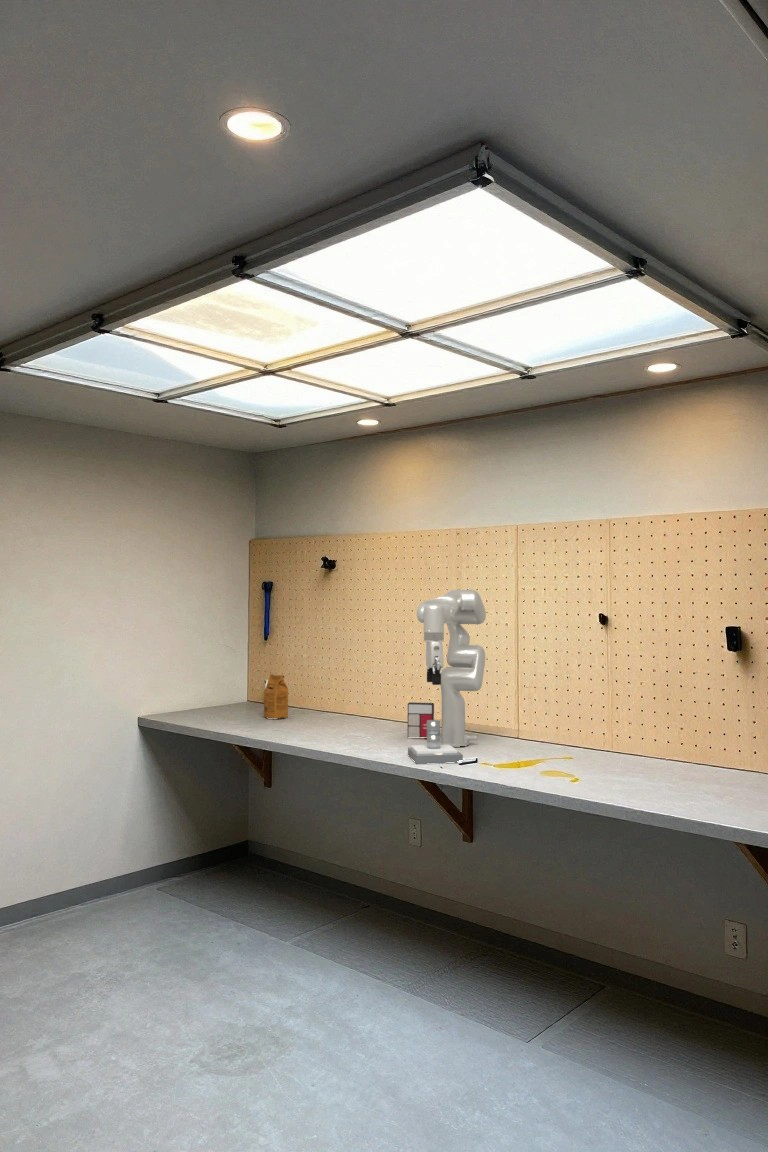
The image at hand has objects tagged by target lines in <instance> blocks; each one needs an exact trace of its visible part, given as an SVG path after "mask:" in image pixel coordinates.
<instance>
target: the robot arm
mask: <svg viewBox="0 0 768 1152" xmlns="http://www.w3.org/2000/svg"><path fill="white" fill-rule="evenodd" d="M486 613H487V612H486V608H485V606H484V602H483V600H482V598H481V595H480V594H479V593H478V591H476V589H475V590H474V589H452V590H450V591H448V592H446V593H445V594H443V596H439V597H434V598H430V599H426V600H423V601H422V602H421V603H420V604H419V605H418V607H417V608H416V618H417V620H418V622H419V623H420V624H421V623H422V624H423V642H425V643H426V644H425V665H426V666H427V667H426V682H427V683H431V685H432V686H440V692H441V693H440V694H441V739H440V745H451V746H452V747H453V748H461V747H460V746H465V747H468V746H469V745H470V741H477V740H478V735H469V734H468V733H466V701H465V698H464V696H463V695H462V693H460V692H462V691H463V692H477V691H480V690H481V688H482V685H483V679H484V674H485V673H484V672H485V666H486V652H485V649H484V647H483V646H481V645H478V644H470V642H471V636H470V634H469V632H468V631H467V630H466V628H464V626H462V625H481V624H483V623H484V622H485V621H486V617H487V614H486ZM445 624H446V626H447V630H448V633H449V640H448V647H447V652H446V662H447V665H448V667H447V666H446V667H444V650H443V646H444V645H443V642H444V639H445V637H444V636H445V631H444V630H445V627H444V625H445ZM467 745H468V746H467Z"/></svg>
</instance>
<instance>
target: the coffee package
mask: <svg viewBox="0 0 768 1152" xmlns="http://www.w3.org/2000/svg"><path fill="white" fill-rule="evenodd" d="M284 678H285V675H284V674H273V673H270V674H269V677H268V681H267V682H266V686H265V688H264V690H265V691H264V698H263V718H264V717H268V718H281V719H285V718H284V717H286V718H288V717H289V688H288V686H287V684H286V682H285V679H284ZM268 718H267V719H268Z"/></svg>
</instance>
